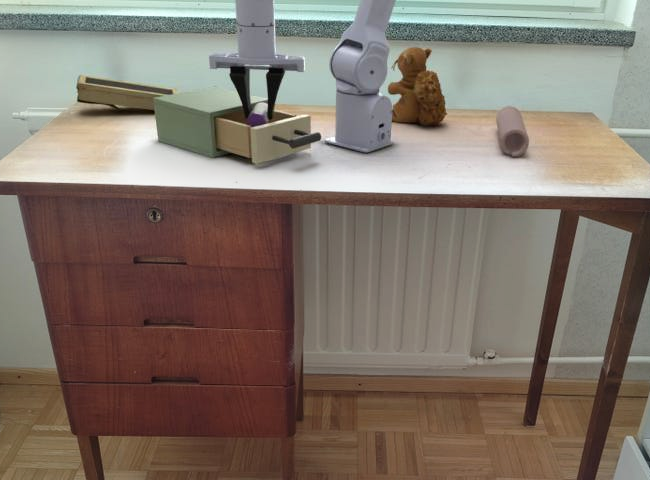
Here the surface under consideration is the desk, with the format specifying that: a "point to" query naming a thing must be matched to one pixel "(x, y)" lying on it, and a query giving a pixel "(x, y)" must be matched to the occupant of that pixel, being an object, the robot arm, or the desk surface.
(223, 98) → the box
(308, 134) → the drawer
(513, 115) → the grey hollow tube piece
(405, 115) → the stuffed squirrel
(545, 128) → the desk surface
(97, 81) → the box
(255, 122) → the glue stick
